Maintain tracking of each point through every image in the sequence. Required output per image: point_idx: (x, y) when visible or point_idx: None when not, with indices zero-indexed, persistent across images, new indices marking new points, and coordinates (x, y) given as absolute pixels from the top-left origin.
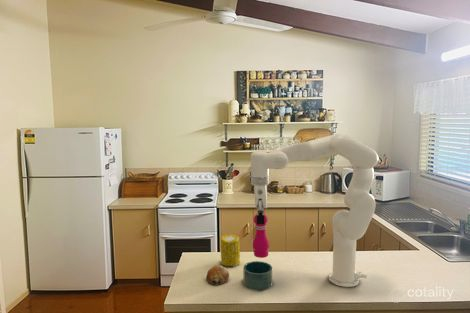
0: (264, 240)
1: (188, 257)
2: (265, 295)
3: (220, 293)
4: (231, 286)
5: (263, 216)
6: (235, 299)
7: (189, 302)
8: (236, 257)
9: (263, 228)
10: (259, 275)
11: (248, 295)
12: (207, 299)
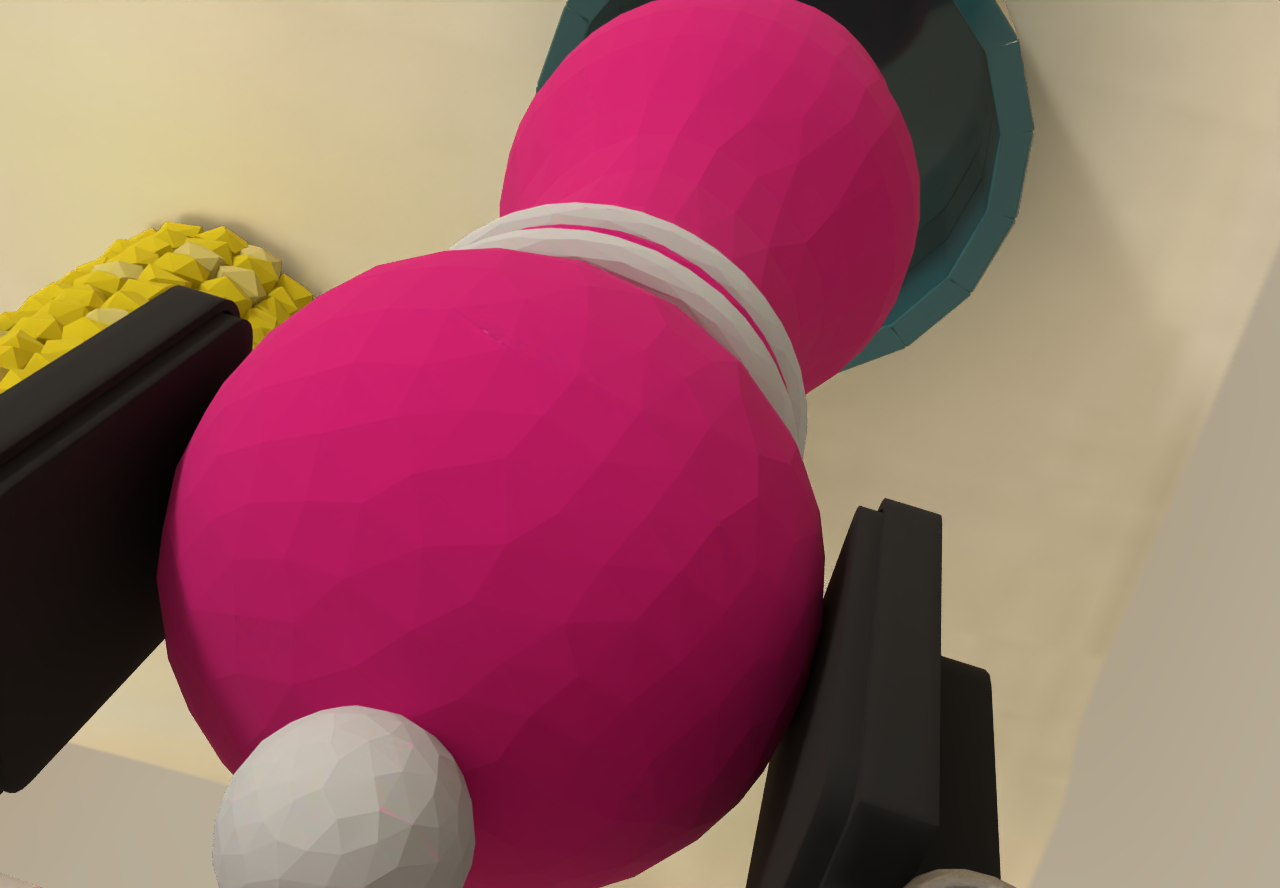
0: (848, 215)
1: (106, 724)
2: (1175, 78)
3: (951, 586)
4: (822, 446)
5: (918, 796)
6: (1136, 467)
7: (1039, 862)
8: (254, 326)
9: (785, 380)
10: (1021, 183)
11: (1096, 302)
12: (1036, 720)
